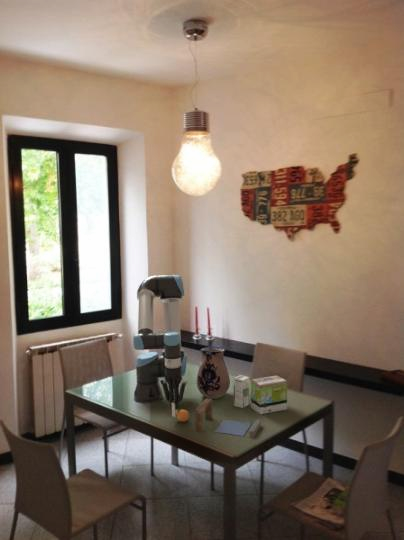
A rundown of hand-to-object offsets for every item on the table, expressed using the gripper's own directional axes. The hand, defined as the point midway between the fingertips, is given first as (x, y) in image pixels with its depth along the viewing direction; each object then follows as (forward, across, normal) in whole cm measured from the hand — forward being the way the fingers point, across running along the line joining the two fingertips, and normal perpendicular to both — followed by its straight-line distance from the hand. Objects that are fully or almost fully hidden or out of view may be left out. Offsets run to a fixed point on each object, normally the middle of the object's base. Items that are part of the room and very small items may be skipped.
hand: (174, 415), depth 227 cm
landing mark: (+3, +28, +2) cm, 28 cm away
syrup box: (+2, +24, +28) cm, 36 cm away
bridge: (+3, +14, +1) cm, 14 cm away
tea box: (+3, +37, +28) cm, 47 cm away
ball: (0, +4, +1) cm, 4 cm away
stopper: (+3, +38, +2) cm, 38 cm away
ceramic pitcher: (+2, +5, +37) cm, 37 cm away
